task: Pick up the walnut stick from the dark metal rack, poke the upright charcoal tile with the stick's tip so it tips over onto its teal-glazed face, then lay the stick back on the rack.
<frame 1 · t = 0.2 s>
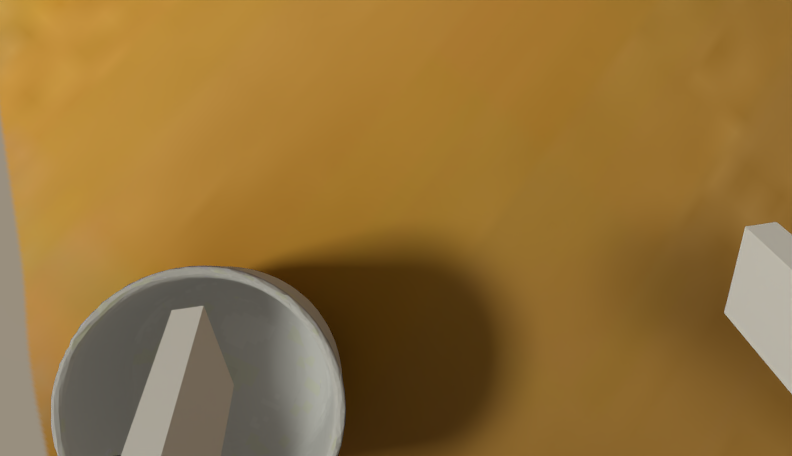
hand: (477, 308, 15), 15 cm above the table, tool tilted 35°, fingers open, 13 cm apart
teacup: (224, 391, 30), on the table
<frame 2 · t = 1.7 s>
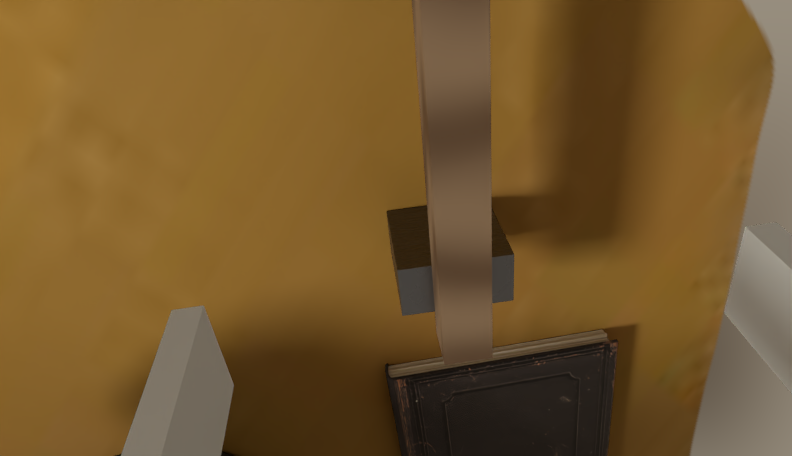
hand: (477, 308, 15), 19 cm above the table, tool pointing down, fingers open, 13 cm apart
hardcover book: (499, 441, 49), on the table
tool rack: (428, 81, 31), on the table
walnut stick: (449, 124, 26), point 6 cm above the table, touching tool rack
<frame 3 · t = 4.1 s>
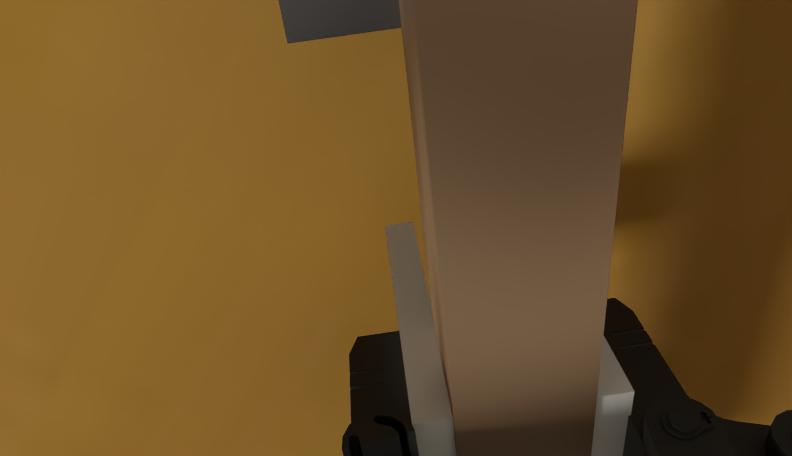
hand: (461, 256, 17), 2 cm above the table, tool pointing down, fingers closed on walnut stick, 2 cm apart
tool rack: (450, 220, 18), on the table
walnut stick: (494, 363, 13), point 6 cm above the table, touching gripper, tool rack
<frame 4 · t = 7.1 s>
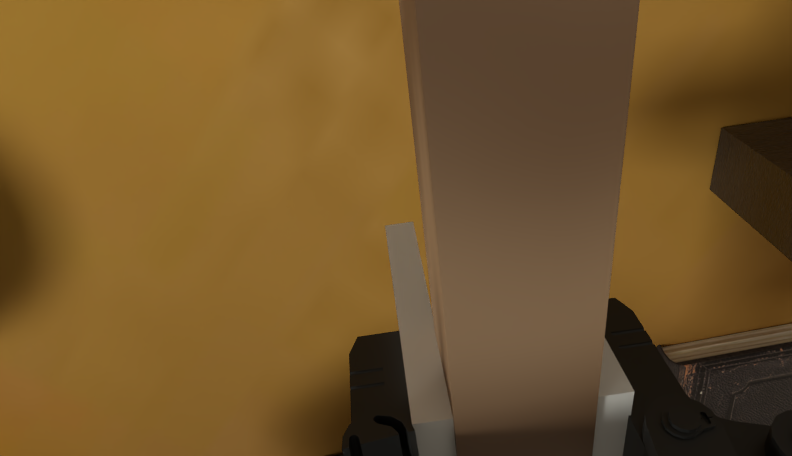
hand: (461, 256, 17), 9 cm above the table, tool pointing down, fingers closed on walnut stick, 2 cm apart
hardcover book: (758, 443, 39), on the table
walnut stick: (495, 363, 13), point 13 cm above the table, touching gripper
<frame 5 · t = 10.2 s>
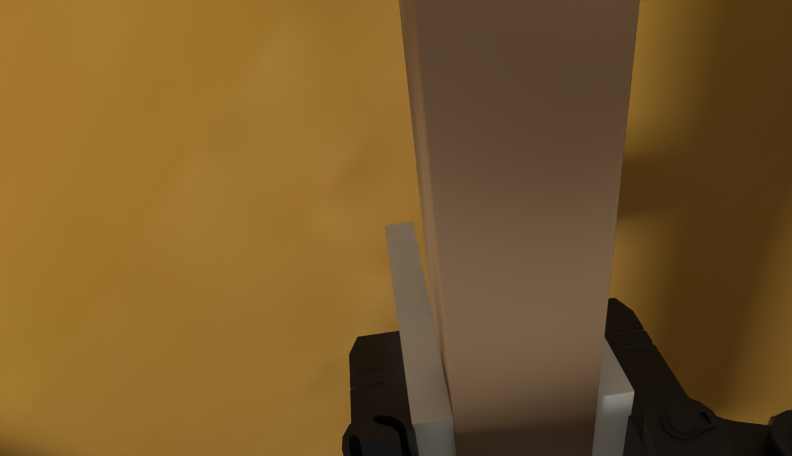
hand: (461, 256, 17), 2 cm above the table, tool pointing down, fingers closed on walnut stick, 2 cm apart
walnut stick: (494, 363, 13), point 6 cm above the table, touching gripper
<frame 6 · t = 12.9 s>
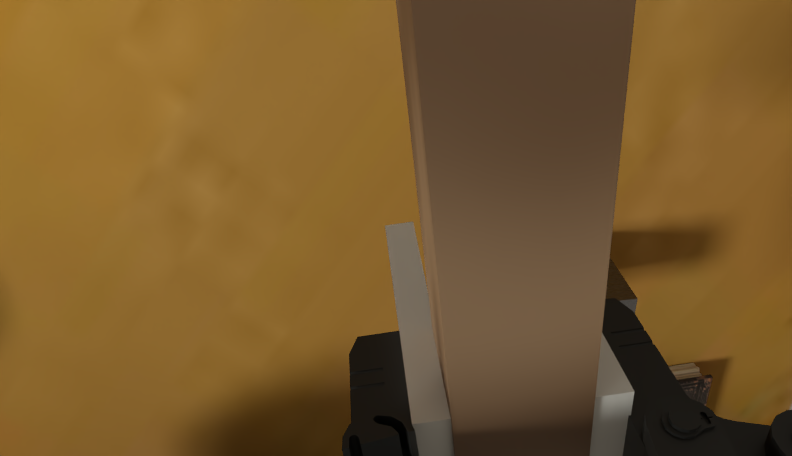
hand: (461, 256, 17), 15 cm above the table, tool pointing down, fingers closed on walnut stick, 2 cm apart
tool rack: (550, 117, 30), on the table
walnut stick: (492, 361, 13), point 19 cm above the table, touching gripper
when the fingers open (4 cm above the table, at t = 15.6 s): walnut stick drops 2 cm, resting on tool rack.
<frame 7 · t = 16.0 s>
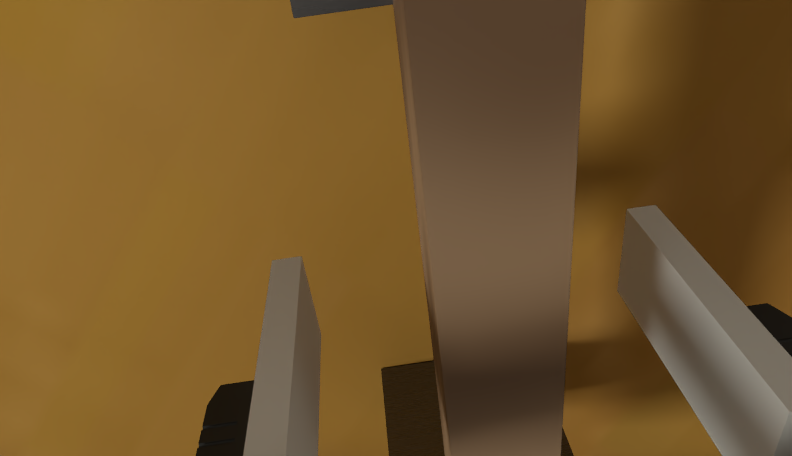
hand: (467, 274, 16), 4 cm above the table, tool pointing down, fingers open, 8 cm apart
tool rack: (442, 194, 20), on the table
walnut stick: (480, 312, 14), point 6 cm above the table, touching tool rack
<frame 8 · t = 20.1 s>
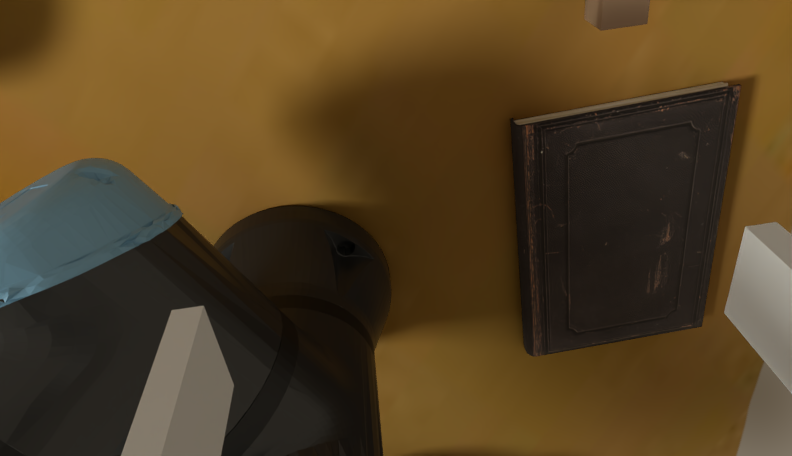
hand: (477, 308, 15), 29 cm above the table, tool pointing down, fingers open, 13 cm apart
hardcover book: (608, 223, 50), on the table
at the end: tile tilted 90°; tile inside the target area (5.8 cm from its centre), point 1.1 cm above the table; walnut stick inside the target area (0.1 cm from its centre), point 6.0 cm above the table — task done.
